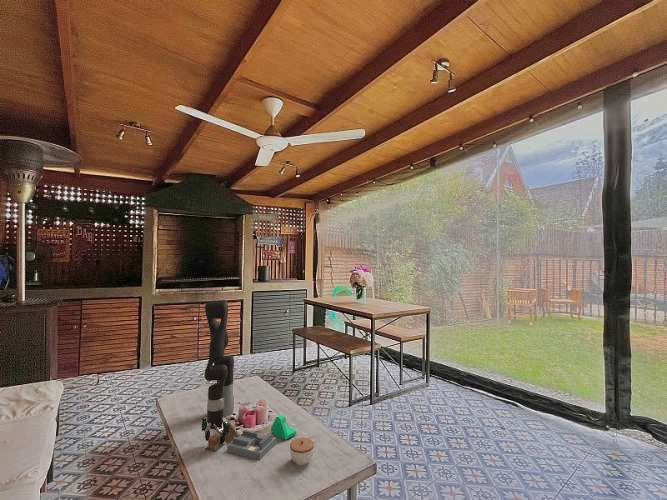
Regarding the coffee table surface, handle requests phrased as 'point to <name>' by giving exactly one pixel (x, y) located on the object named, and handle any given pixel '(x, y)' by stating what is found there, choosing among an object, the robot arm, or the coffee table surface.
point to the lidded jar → (302, 450)
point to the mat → (215, 449)
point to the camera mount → (282, 428)
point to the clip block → (214, 441)
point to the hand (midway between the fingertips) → (214, 441)
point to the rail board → (251, 444)
